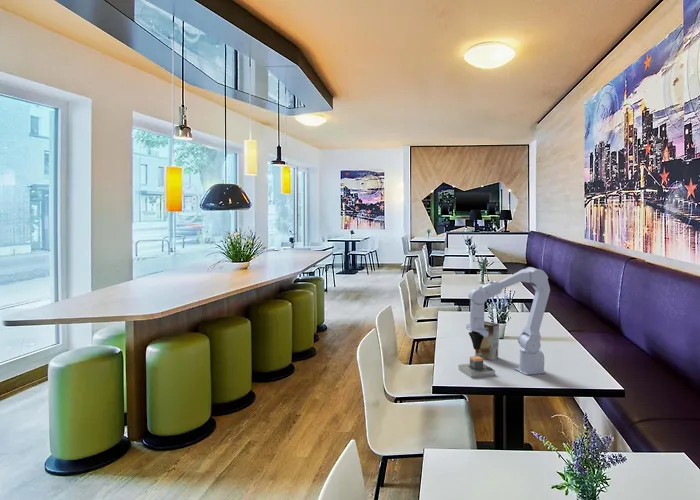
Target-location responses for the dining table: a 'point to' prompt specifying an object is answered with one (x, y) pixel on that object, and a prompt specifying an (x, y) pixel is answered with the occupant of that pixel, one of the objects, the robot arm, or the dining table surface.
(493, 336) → the coffee box
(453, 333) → the dining table surface
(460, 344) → the dining table surface
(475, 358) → the plug
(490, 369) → the socket plate
